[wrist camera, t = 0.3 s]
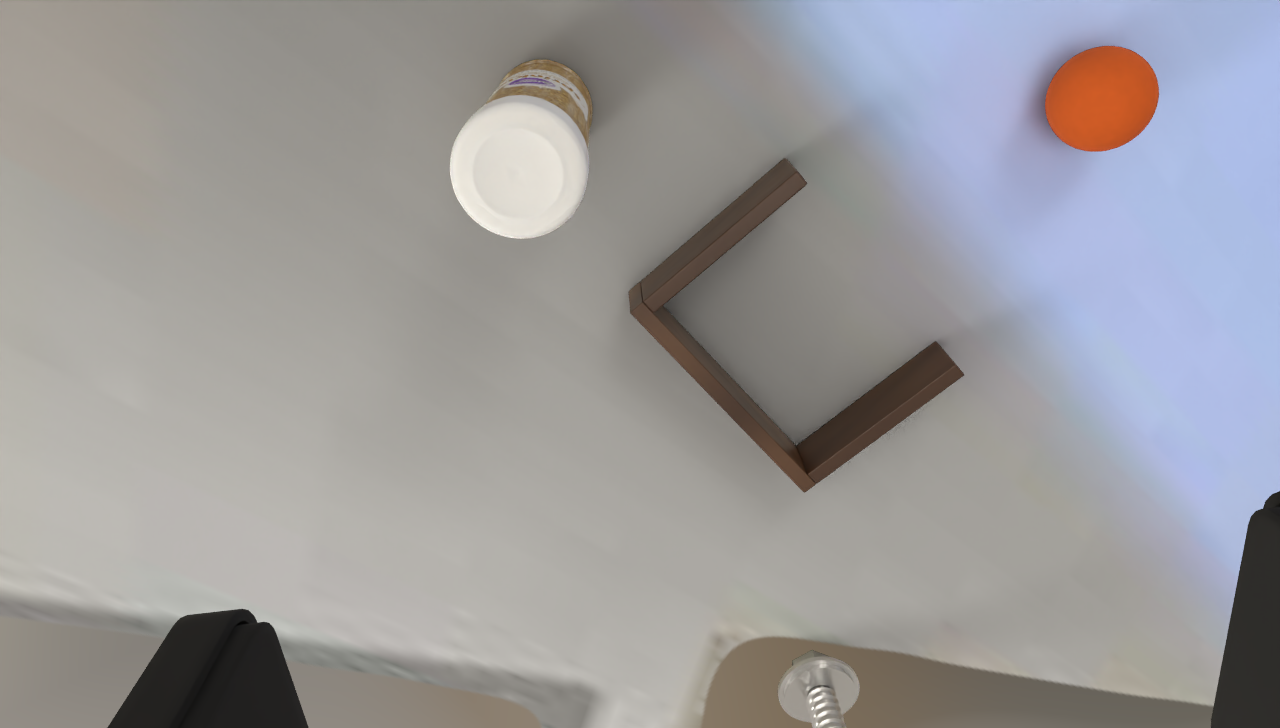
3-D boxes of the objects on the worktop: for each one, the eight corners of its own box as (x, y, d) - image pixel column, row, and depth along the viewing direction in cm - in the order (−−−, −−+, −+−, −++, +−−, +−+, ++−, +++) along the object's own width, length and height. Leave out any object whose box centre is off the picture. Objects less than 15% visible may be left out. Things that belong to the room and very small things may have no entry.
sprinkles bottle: (577, 47, 41) (567, 86, 29) (603, 146, 43) (604, 224, 31) (479, 72, 41) (427, 122, 29) (509, 170, 43) (472, 256, 31)
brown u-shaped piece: (628, 291, 46) (629, 312, 43) (785, 156, 43) (797, 170, 41) (793, 464, 50) (804, 493, 48) (944, 350, 48) (964, 375, 45)
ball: (1010, 88, 43) (1053, 103, 38) (1094, 19, 41) (1148, 27, 37) (1059, 161, 44) (1106, 182, 40) (1142, 96, 43) (1199, 111, 39)
